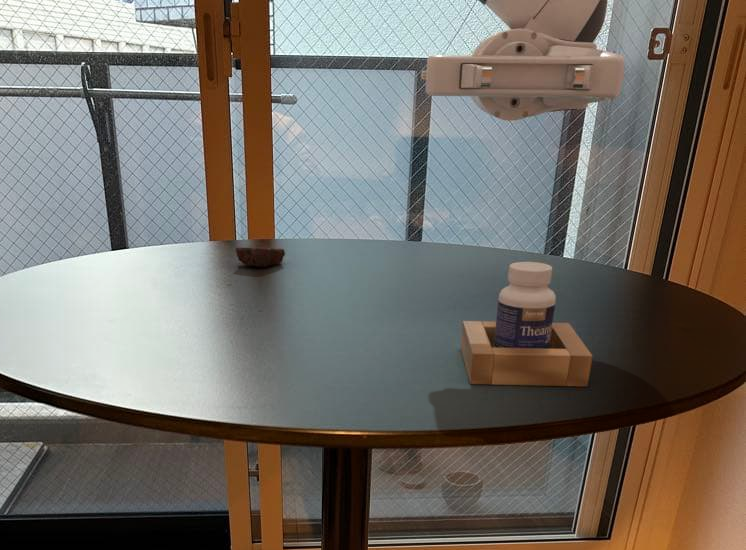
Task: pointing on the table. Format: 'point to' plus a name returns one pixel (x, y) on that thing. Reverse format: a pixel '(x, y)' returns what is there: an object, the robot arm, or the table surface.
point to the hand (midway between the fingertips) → (532, 77)
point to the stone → (260, 256)
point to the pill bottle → (525, 307)
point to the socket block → (525, 358)
